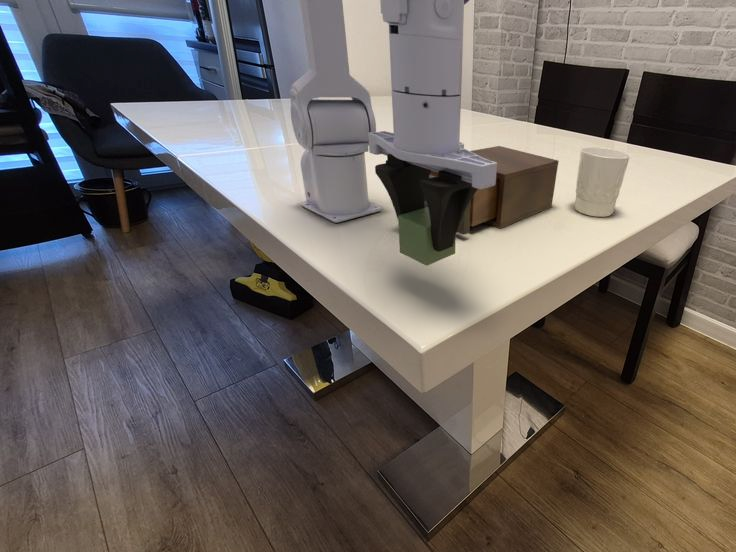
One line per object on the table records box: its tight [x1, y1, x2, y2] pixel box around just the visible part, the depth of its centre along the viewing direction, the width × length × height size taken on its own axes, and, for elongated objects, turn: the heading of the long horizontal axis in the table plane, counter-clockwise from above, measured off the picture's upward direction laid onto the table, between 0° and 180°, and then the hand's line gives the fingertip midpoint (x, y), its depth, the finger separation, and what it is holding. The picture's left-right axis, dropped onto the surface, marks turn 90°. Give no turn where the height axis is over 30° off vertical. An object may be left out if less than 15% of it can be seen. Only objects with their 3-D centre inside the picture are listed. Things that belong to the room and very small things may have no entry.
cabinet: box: [469, 145, 559, 229], centre depth 66 cm, size 15×13×8 cm
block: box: [397, 207, 457, 266], centre depth 40 cm, size 4×4×4 cm
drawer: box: [424, 170, 500, 235], centre depth 59 cm, size 18×11×6 cm, turn 142°
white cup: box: [574, 146, 631, 218], centre depth 68 cm, size 8×8×10 cm
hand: (427, 240), depth 40 cm, fingers closed on block, 4 cm apart
